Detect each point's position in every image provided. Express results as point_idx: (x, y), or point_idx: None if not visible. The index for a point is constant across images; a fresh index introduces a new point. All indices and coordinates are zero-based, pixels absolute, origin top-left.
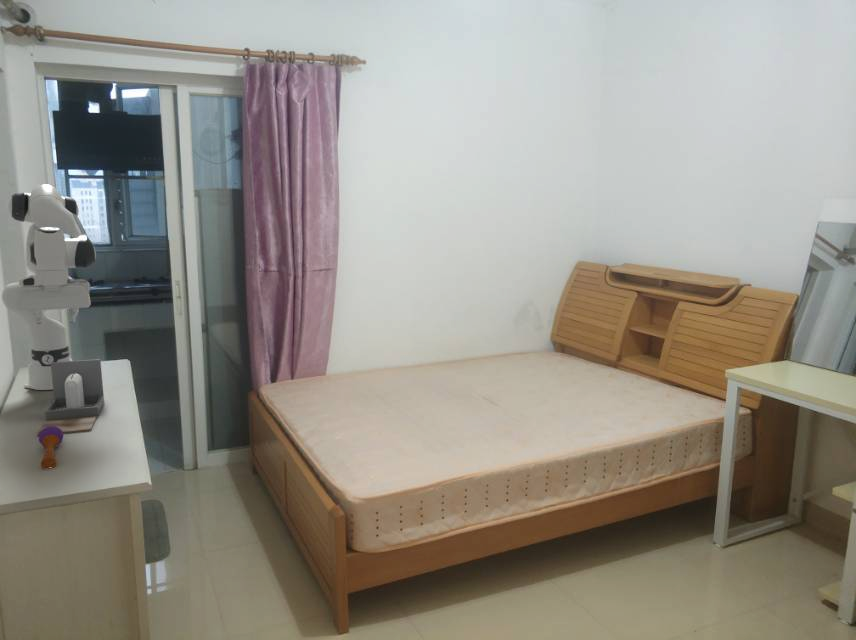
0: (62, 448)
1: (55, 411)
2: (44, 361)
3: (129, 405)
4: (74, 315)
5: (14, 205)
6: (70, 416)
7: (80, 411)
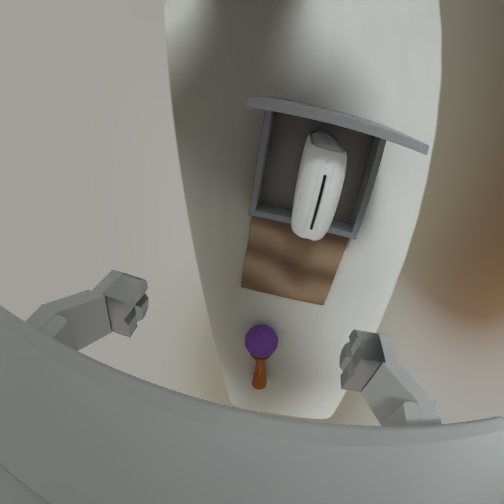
0: None
1: (269, 218)
2: None
3: (422, 190)
4: (377, 406)
5: None
6: None
7: None
